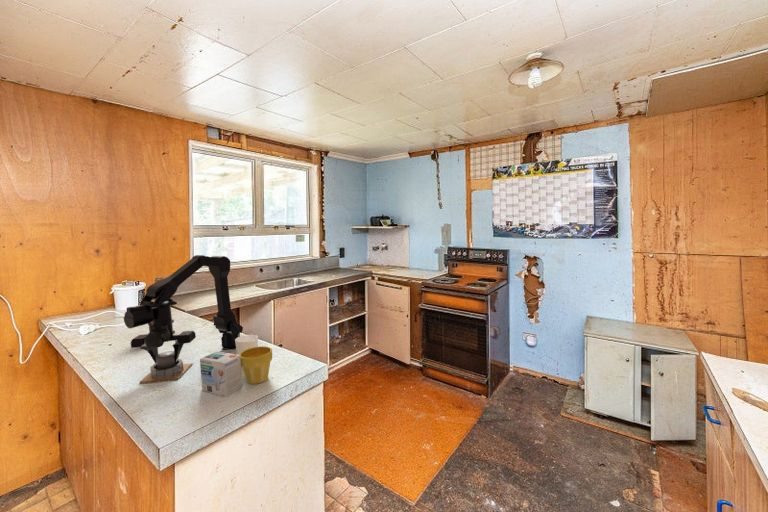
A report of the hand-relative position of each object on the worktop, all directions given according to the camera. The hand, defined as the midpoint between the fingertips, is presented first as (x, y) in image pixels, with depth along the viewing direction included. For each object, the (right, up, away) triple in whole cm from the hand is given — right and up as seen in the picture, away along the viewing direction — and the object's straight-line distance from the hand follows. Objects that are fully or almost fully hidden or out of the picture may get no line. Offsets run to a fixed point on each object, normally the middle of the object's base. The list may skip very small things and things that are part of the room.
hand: (166, 362), depth 116 cm
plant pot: (+35, -4, -5) cm, 35 cm away
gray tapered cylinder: (0, -1, 0) cm, 1 cm away
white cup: (+26, -3, +7) cm, 27 cm away
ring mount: (0, -4, 0) cm, 4 cm away
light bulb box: (+26, -5, -11) cm, 28 cm away
